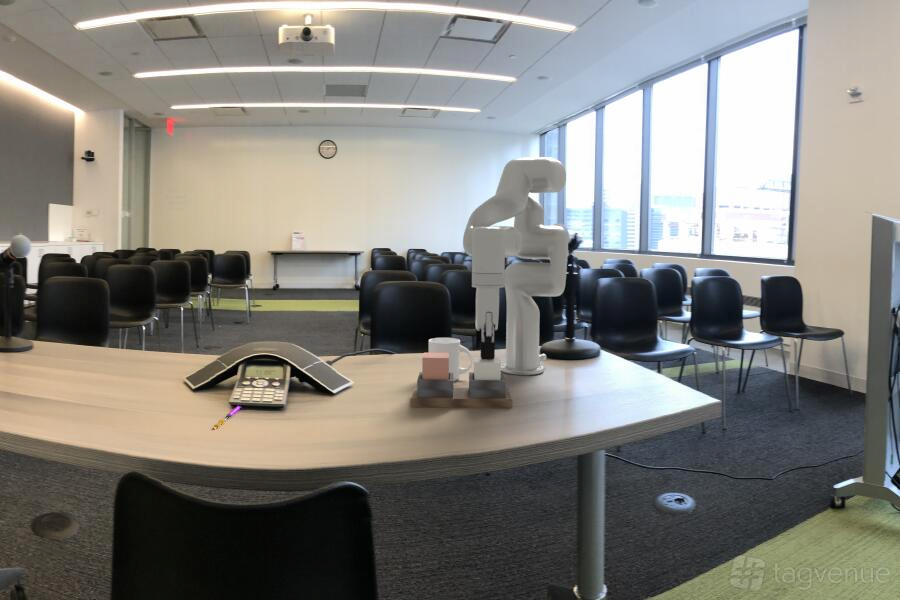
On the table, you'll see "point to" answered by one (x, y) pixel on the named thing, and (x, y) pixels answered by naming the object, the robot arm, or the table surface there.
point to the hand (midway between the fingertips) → (487, 358)
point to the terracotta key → (435, 366)
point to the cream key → (487, 369)
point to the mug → (451, 353)
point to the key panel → (461, 393)
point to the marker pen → (228, 416)
